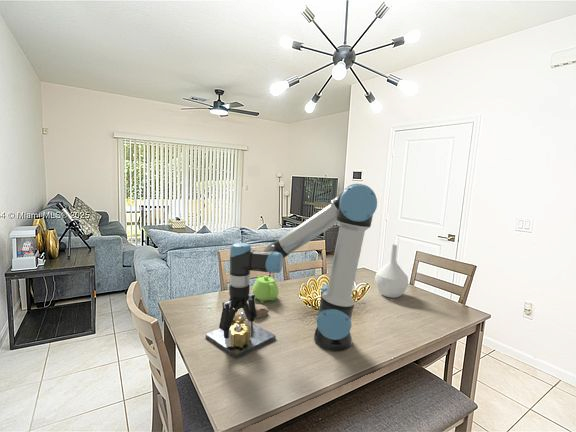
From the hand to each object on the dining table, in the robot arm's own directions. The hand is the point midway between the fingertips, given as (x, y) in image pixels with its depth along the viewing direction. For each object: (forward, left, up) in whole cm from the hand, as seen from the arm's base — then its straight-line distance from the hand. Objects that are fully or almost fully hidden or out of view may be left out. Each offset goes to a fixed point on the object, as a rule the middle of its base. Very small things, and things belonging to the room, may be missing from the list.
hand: (238, 340), depth 117 cm
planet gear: (0, 0, 0) cm, 0 cm away
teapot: (+27, -39, -3) cm, 48 cm away
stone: (+16, -23, -3) cm, 29 cm away
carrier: (+4, -4, -2) cm, 6 cm away
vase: (-17, -98, -3) cm, 100 cm away
